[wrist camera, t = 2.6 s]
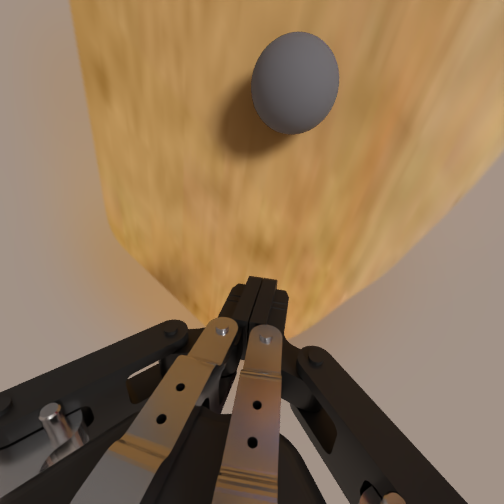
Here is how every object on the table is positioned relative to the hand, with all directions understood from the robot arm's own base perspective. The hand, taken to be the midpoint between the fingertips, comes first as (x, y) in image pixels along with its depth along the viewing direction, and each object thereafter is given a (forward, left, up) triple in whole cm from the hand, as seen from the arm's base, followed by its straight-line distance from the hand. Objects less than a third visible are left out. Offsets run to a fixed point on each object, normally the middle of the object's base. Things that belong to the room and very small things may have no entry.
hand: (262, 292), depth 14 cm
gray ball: (-10, +2, -8) cm, 13 cm away
